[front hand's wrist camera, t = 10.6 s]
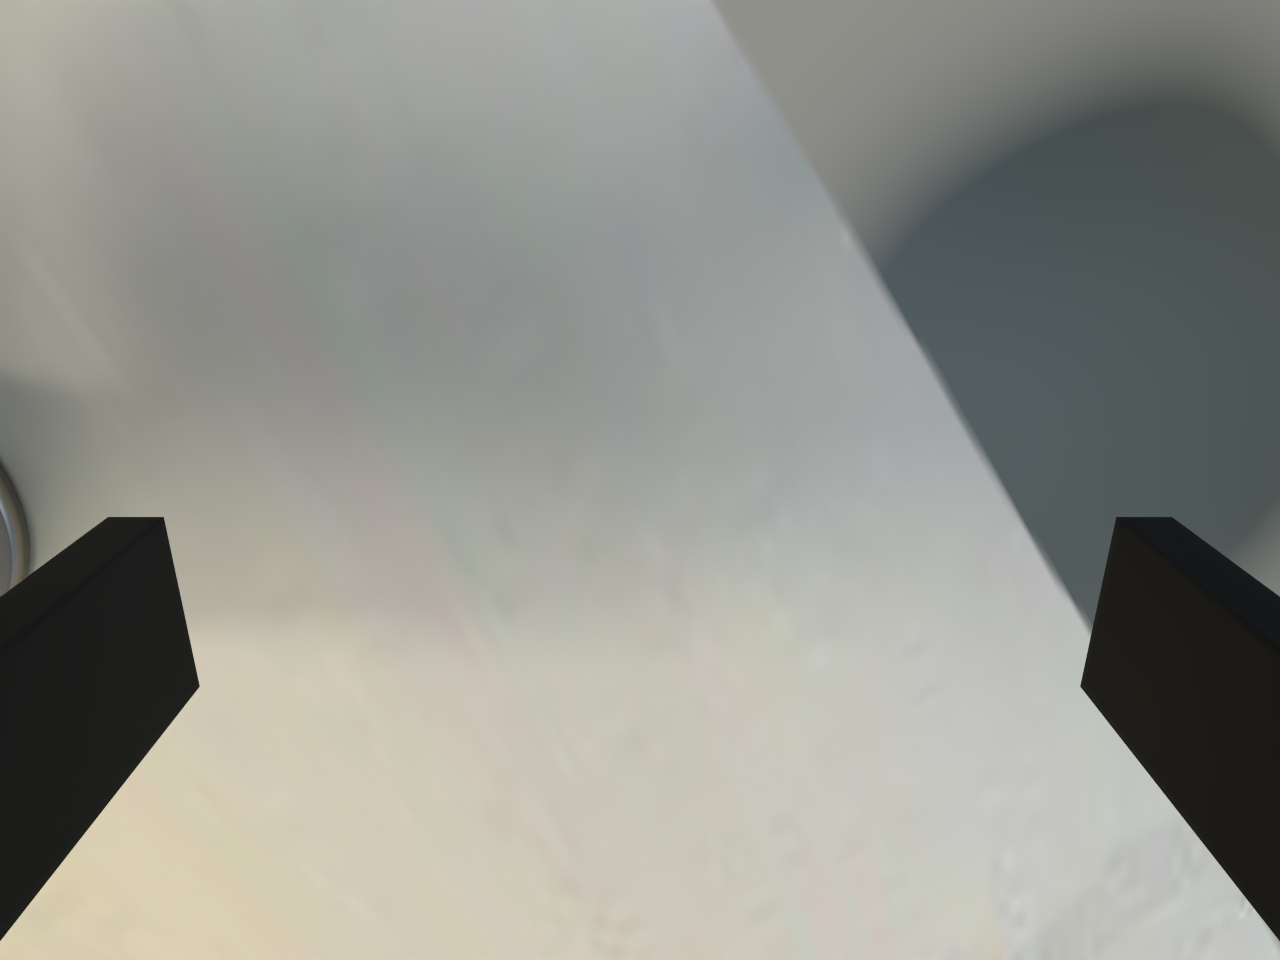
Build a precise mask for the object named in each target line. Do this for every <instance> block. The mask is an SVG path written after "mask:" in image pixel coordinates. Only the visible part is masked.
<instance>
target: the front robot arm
mask: <svg viewBox="0 0 1280 960" xmlns="http://www.w3.org/2000/svg"><path fill="white" fill-rule="evenodd" d="M29 560H30V544H29V533H28V528H27V523H26V519H25V515H24V512H23V509H22V505H21V503H20V501H19V498H18V496H17V493H16V491H15V489H14V487H13V485H12V483H11V481H10V479H9V477H8V476H7V474H6V472H5V471H4V469H3V468H2V466H1V464H0V941H1V939H2V938H3V937H4V936H5V934H6V933H7V932H8V930H9V929H10V928H11V927H12V925H13V924H14V923H15V921H16V920H17V919H18V918H19V916H20V915H21V914H22V913H23V911H24V910H25V909H26V907H27V906H28V905H29V904H30V902H31V901H32V900H33V898H34V897H35V896H36V895H37V893H38V892H39V891H40V890H41V888H42V887H43V886H44V884H45V883H46V882H47V881H48V879H49V878H50V877H51V876H52V874H53V873H54V872H55V870H56V869H57V868H58V867H59V865H60V864H61V863H62V861H63V860H64V859H65V858H66V856H67V855H68V854H69V853H70V851H71V850H72V849H73V847H74V846H75V845H76V844H77V842H78V841H79V840H80V838H81V837H82V836H83V835H84V833H85V832H86V831H87V830H88V828H89V827H90V826H91V824H92V823H93V822H94V821H95V819H96V818H97V817H98V816H99V814H100V813H101V812H102V810H103V809H104V808H105V807H106V805H107V804H108V803H109V801H110V800H111V799H112V798H113V796H114V795H115V794H116V793H117V791H118V790H119V789H120V787H121V786H122V785H123V784H124V782H125V781H126V780H127V778H128V777H129V776H130V775H131V773H132V772H133V771H134V770H135V768H136V767H137V766H138V764H139V763H140V762H141V761H142V759H143V758H144V757H145V756H146V754H147V753H148V752H149V750H150V749H151V748H152V747H153V745H154V744H155V743H156V741H157V740H158V739H159V738H160V736H161V735H162V734H163V733H164V731H165V730H166V729H167V727H168V726H169V725H170V724H171V722H172V721H173V720H174V719H175V717H176V716H177V715H178V713H179V712H180V711H181V710H182V708H183V707H184V706H185V704H186V703H187V702H188V701H189V699H190V698H191V697H192V696H193V694H194V693H195V692H196V690H197V689H198V688H199V687H200V686H199V681H198V677H197V672H196V667H195V662H194V658H193V653H192V648H191V644H190V639H189V634H188V629H187V625H186V620H185V615H184V611H183V606H182V601H181V597H180V592H179V587H178V582H177V578H176V573H175V568H174V564H173V559H172V554H171V549H170V545H169V540H168V535H167V531H166V526H165V521H164V517H108V518H106V519H105V520H104V521H102V522H101V523H100V524H98V525H97V526H95V527H94V528H93V529H91V530H90V531H89V532H87V533H86V534H85V535H83V536H82V537H81V538H79V539H78V540H76V541H75V542H74V543H72V544H71V545H70V546H68V547H67V548H66V549H64V550H63V551H62V552H60V553H59V554H58V555H56V556H55V557H53V558H52V559H51V560H49V561H48V562H47V563H45V564H44V565H43V566H41V567H40V568H39V569H37V570H36V571H35V572H33V573H32V574H30V575H29V576H28V577H27V575H28V568H29ZM1080 687H1081V688H1082V689H1083V690H1084V692H1085V693H1086V694H1087V696H1088V697H1089V698H1090V699H1091V701H1092V702H1093V703H1094V704H1095V706H1096V707H1097V708H1098V710H1099V711H1100V712H1101V713H1102V715H1103V716H1104V717H1105V719H1106V720H1107V721H1108V722H1109V724H1110V725H1111V726H1112V727H1113V729H1114V730H1115V731H1116V733H1117V734H1118V735H1119V736H1120V738H1121V739H1122V740H1123V741H1124V743H1125V744H1126V745H1127V747H1128V748H1129V749H1130V750H1131V752H1132V753H1133V754H1134V756H1135V757H1136V758H1137V759H1138V761H1139V762H1140V763H1141V764H1142V766H1143V767H1144V768H1145V770H1146V771H1147V772H1148V773H1149V775H1150V776H1151V777H1152V779H1153V780H1154V781H1155V782H1156V784H1157V785H1158V786H1159V787H1160V789H1161V790H1162V791H1163V793H1164V794H1165V795H1166V796H1167V798H1168V799H1169V800H1170V801H1171V803H1172V804H1173V805H1174V807H1175V808H1176V809H1177V810H1178V812H1179V813H1180V814H1181V816H1182V817H1183V818H1184V819H1185V821H1186V822H1187V823H1188V824H1189V826H1190V827H1191V828H1192V830H1193V831H1194V832H1195V833H1196V835H1197V836H1198V837H1199V838H1200V840H1201V841H1202V842H1203V844H1204V845H1205V846H1206V847H1207V849H1208V850H1209V851H1210V853H1211V854H1212V855H1213V856H1214V858H1215V859H1216V860H1217V861H1218V863H1219V864H1220V865H1221V867H1222V868H1223V869H1224V870H1225V872H1226V873H1227V874H1228V876H1229V877H1230V878H1231V879H1232V881H1233V882H1234V883H1235V884H1236V886H1237V887H1238V888H1239V890H1240V891H1241V892H1242V893H1243V895H1244V896H1245V897H1246V898H1247V900H1248V901H1249V902H1250V904H1251V905H1252V906H1253V907H1254V909H1255V910H1256V911H1257V913H1258V914H1259V915H1260V916H1261V918H1262V919H1263V920H1264V921H1265V923H1266V924H1267V925H1268V927H1269V928H1270V929H1271V930H1272V932H1273V933H1274V934H1275V936H1276V937H1277V938H1278V939H1279V941H1280V597H1279V596H1278V595H1277V594H1275V593H1274V592H1273V591H1271V590H1270V589H1268V588H1267V587H1266V586H1264V585H1263V584H1262V583H1260V582H1259V581H1258V580H1256V579H1255V578H1253V577H1252V576H1251V575H1249V574H1248V573H1247V572H1245V571H1244V570H1243V569H1241V568H1240V567H1239V566H1237V565H1236V564H1235V563H1233V562H1232V561H1231V560H1229V559H1228V558H1227V557H1225V556H1224V555H1222V554H1221V553H1220V552H1218V551H1217V550H1216V549H1214V548H1213V547H1212V546H1210V545H1209V544H1208V543H1206V542H1205V541H1203V540H1202V539H1201V538H1199V537H1198V536H1197V535H1195V534H1194V533H1193V532H1191V531H1190V530H1189V529H1187V528H1186V527H1185V526H1183V525H1182V524H1180V523H1179V522H1178V521H1176V520H1175V519H1174V518H1172V517H1116V521H1115V526H1114V531H1113V535H1112V540H1111V545H1110V549H1109V554H1108V559H1107V564H1106V568H1105V573H1104V578H1103V582H1102V587H1101V592H1100V597H1099V601H1098V606H1097V611H1096V615H1095V620H1094V625H1093V629H1092V634H1091V639H1090V644H1089V648H1088V653H1087V658H1086V662H1085V667H1084V672H1083V677H1082V681H1081V686H1080Z"/></svg>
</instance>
